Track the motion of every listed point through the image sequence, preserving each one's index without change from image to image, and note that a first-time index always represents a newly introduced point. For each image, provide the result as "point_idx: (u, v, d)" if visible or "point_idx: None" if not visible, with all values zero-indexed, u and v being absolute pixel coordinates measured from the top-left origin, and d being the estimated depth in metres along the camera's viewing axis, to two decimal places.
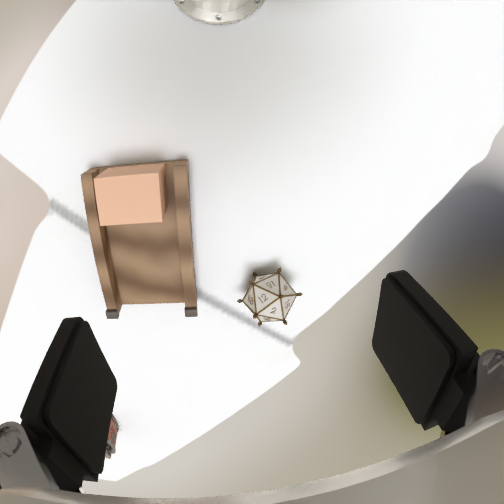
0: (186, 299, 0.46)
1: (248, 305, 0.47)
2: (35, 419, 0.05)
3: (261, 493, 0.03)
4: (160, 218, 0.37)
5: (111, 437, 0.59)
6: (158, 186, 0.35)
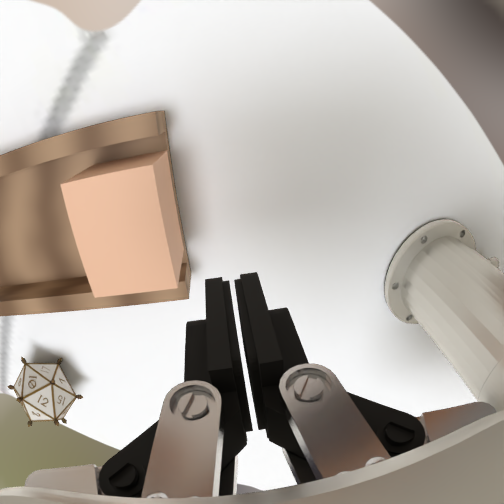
0: None
1: (24, 378, 0.26)
2: (230, 369, 0.06)
3: (261, 493, 0.03)
4: (99, 294, 0.20)
5: None
6: (153, 289, 0.20)
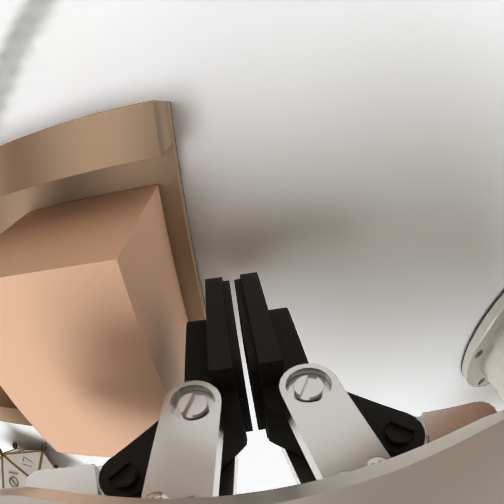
0: None
1: (4, 474, 0.15)
2: (230, 369, 0.06)
3: (261, 493, 0.03)
4: (63, 450, 0.09)
5: None
6: None
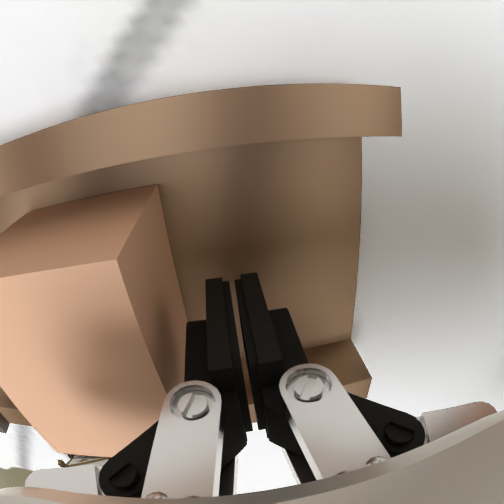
0: (12, 410, 0.12)
1: None
2: (230, 369, 0.06)
3: (261, 493, 0.03)
4: (63, 450, 0.09)
5: None
6: None
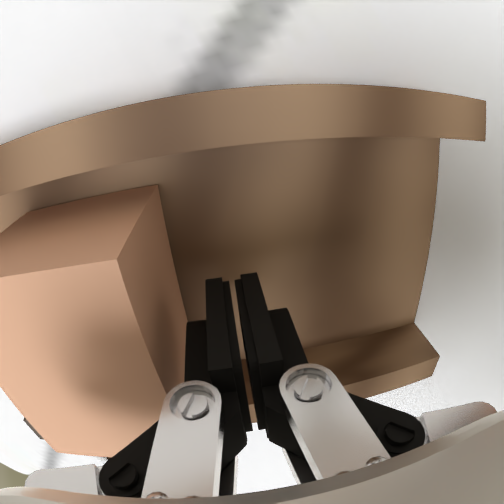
0: None
1: None
2: (230, 369, 0.06)
3: (261, 493, 0.03)
4: (62, 450, 0.09)
5: None
6: None
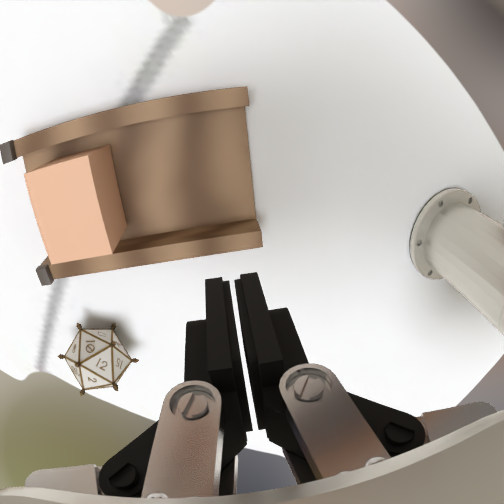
0: (60, 265, 0.27)
1: (81, 344, 0.30)
2: (230, 369, 0.06)
3: (261, 493, 0.03)
4: (54, 261, 0.23)
5: None
6: (94, 255, 0.24)
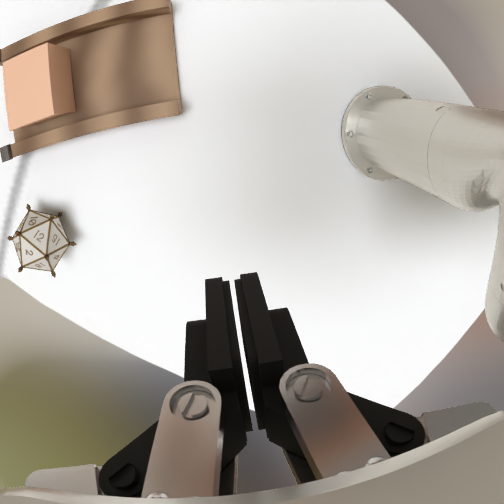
0: (19, 143, 0.28)
1: (26, 219, 0.31)
2: (230, 369, 0.06)
3: (261, 493, 0.03)
4: (12, 128, 0.24)
5: None
6: (41, 118, 0.25)
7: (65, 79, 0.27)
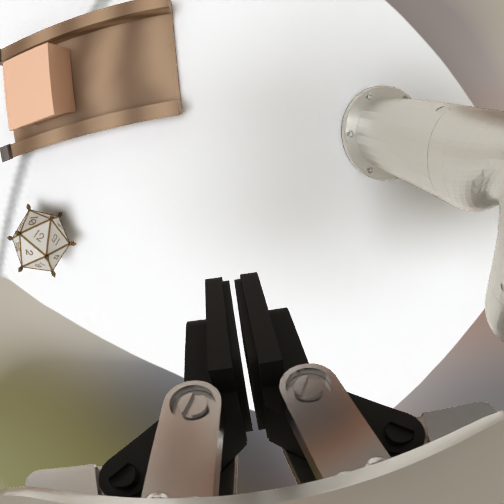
0: (19, 143, 0.28)
1: (26, 219, 0.31)
2: (230, 369, 0.06)
3: (261, 493, 0.03)
4: (12, 127, 0.24)
5: None
6: (41, 117, 0.25)
7: (65, 79, 0.27)
